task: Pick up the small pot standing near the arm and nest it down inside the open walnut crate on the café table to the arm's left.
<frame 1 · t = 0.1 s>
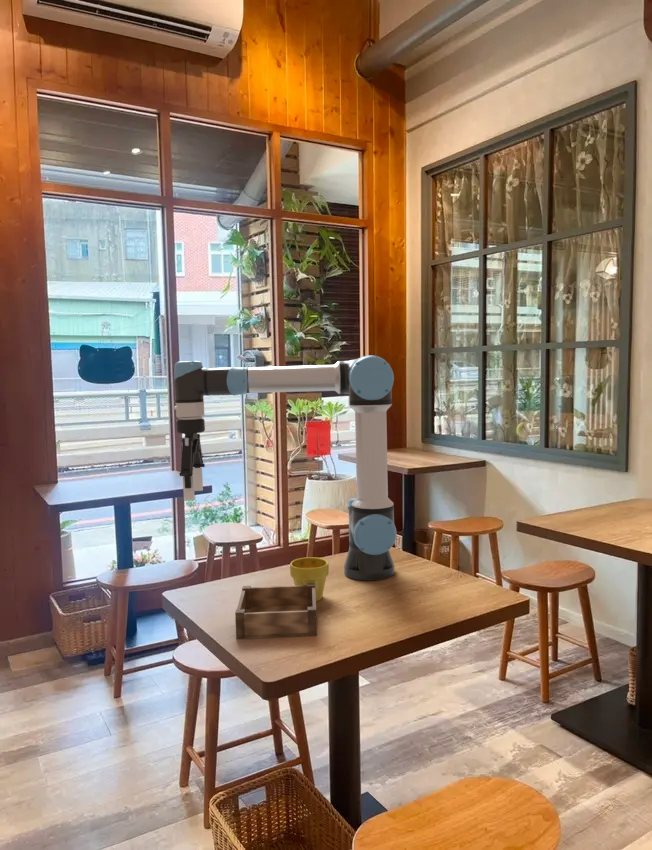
hand: (193, 495, 177), 28 cm above the table, fingers open, 13 cm apart
walnut crate: (278, 621, 158), on the table
plant pot: (310, 598, 174), on the table
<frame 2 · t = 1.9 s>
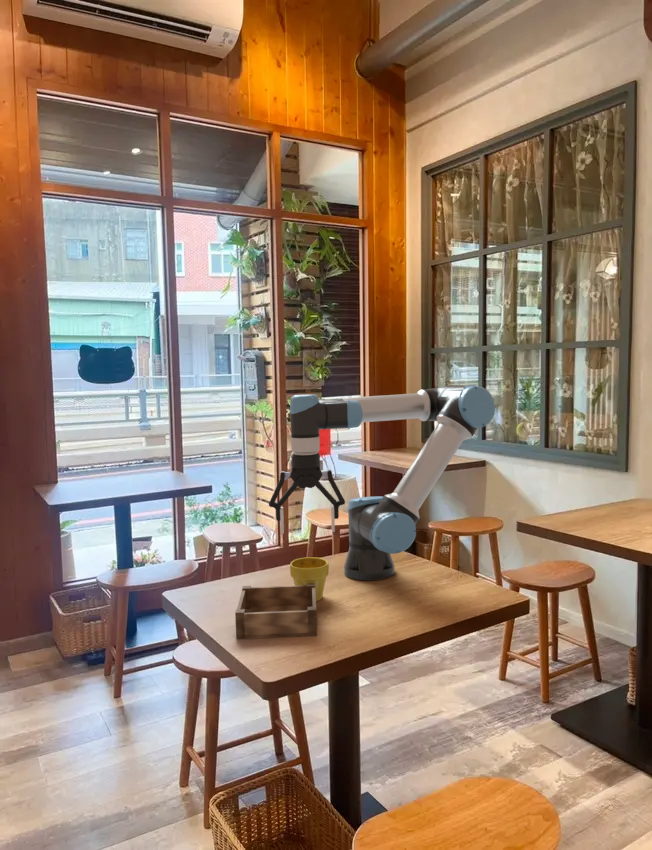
hand: (307, 531, 173), 18 cm above the table, fingers open, 13 cm apart
nothing on the table moved.
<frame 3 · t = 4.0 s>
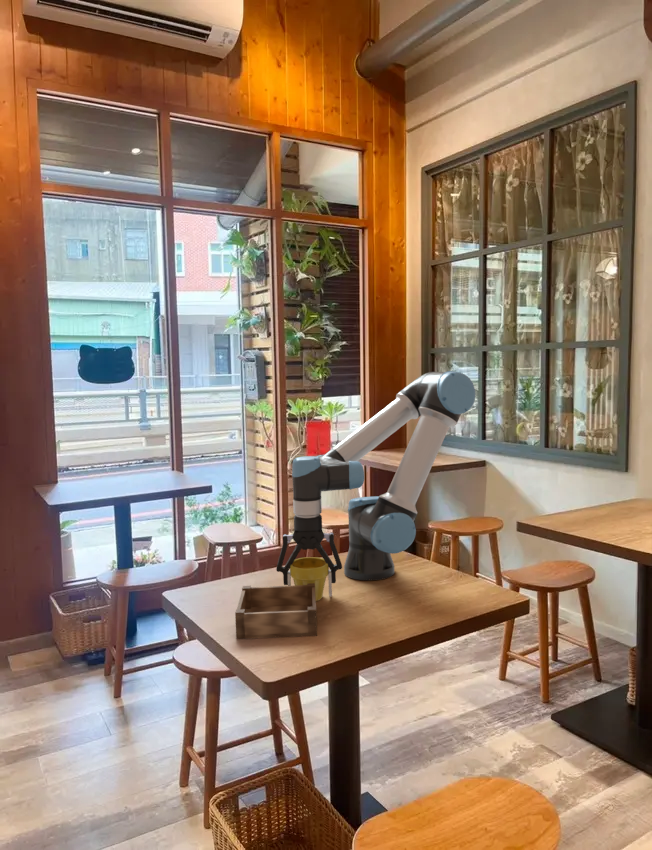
hand: (310, 595, 174), 1 cm above the table, fingers closed on plant pot, 10 cm apart
plant pot: (310, 598, 174), on the table, touching gripper
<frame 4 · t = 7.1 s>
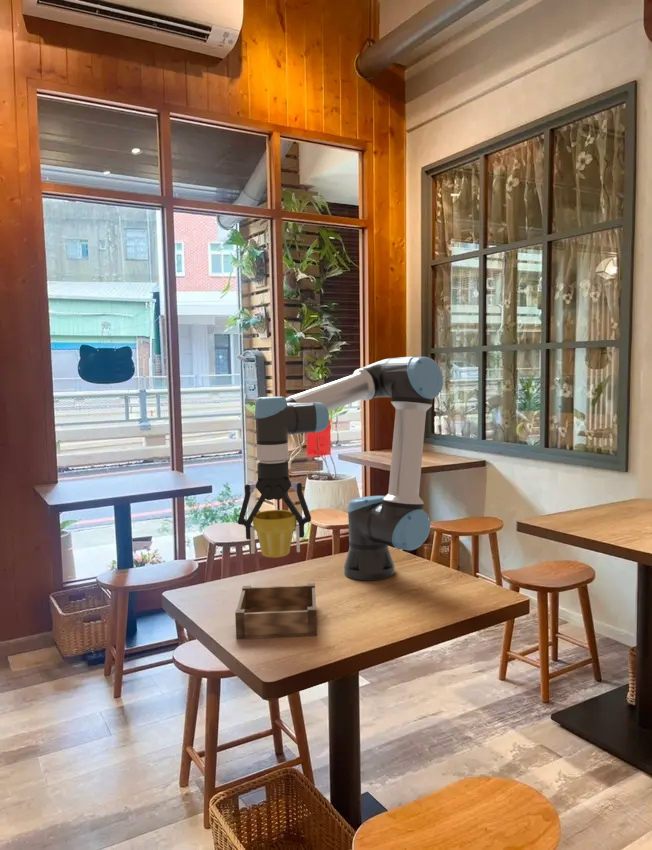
hand: (275, 551, 157), 18 cm above the table, fingers closed on plant pot, 10 cm apart
plant pot: (275, 554, 157), point 17 cm above the table, touching gripper
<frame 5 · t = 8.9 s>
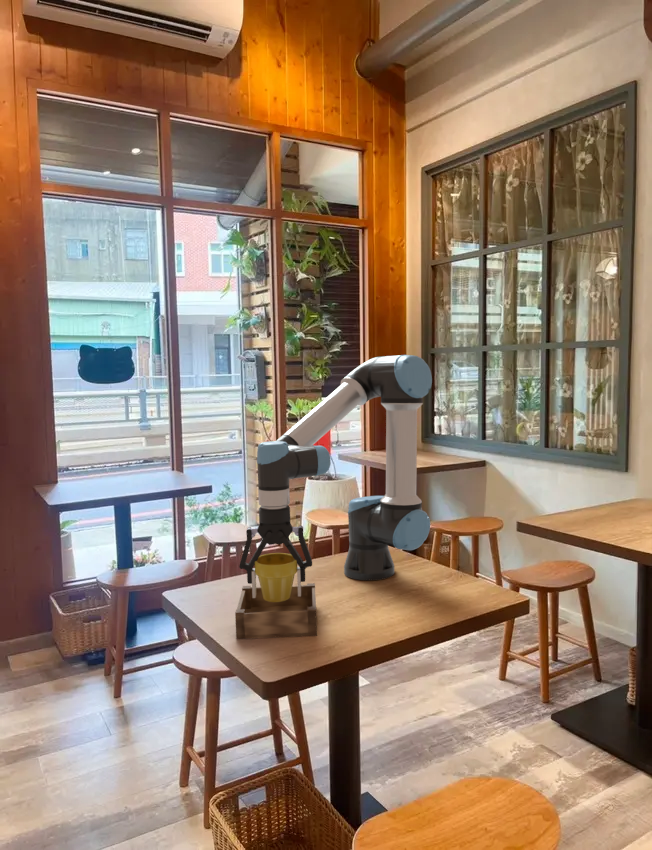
hand: (277, 595, 157), 7 cm above the table, fingers closed on plant pot, 10 cm apart
plant pot: (277, 598, 157), point 6 cm above the table, touching gripper
when the fingers open (3 cm above the table, at t = 10.2 s): plant pot drops 2 cm, resting on walnut crate.
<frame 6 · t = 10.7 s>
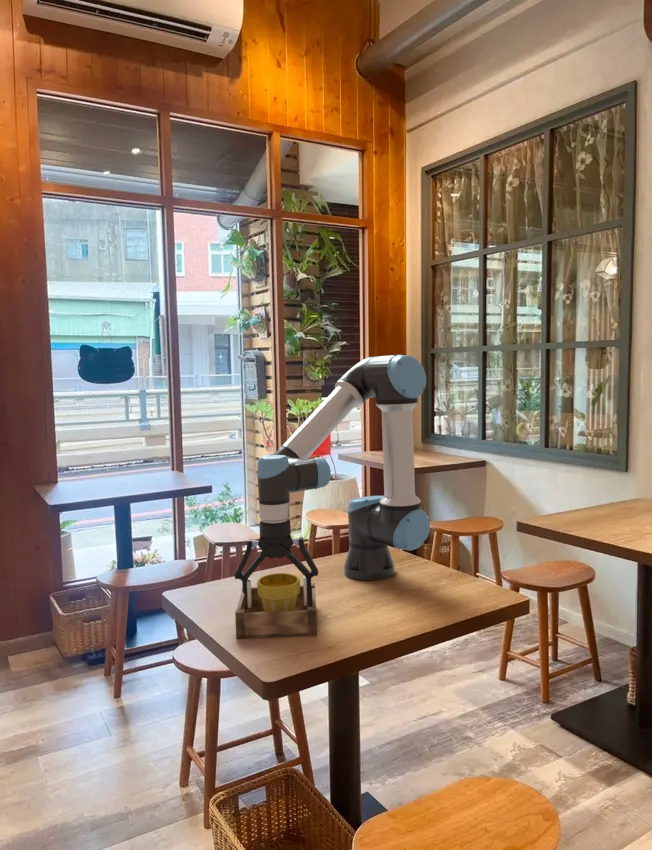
hand: (277, 605, 158), 4 cm above the table, fingers open, 13 cm apart
plant pot: (279, 619, 158), point 1 cm above the table, touching walnut crate
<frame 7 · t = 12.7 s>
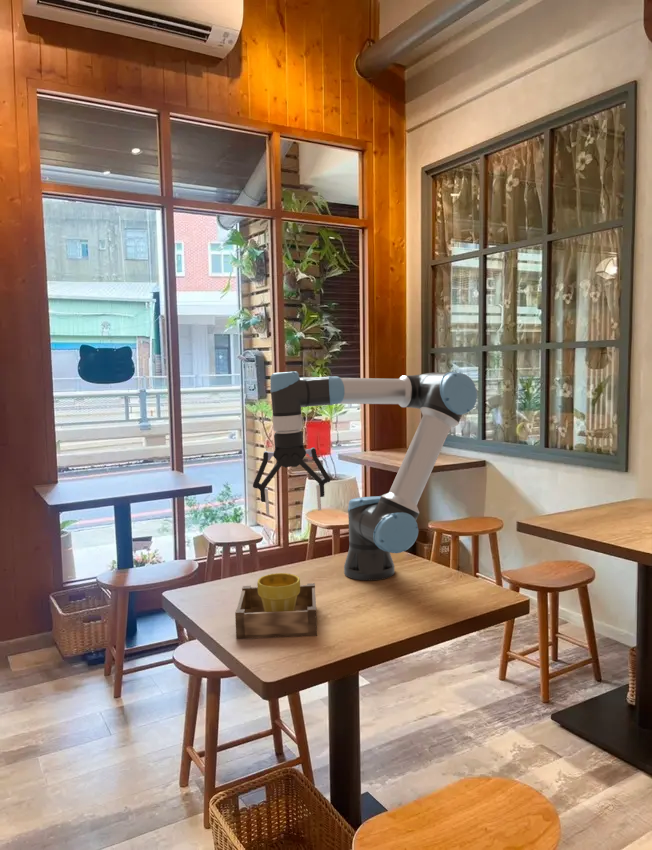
hand: (293, 511, 170), 24 cm above the table, fingers open, 13 cm apart
nothing on the table moved.
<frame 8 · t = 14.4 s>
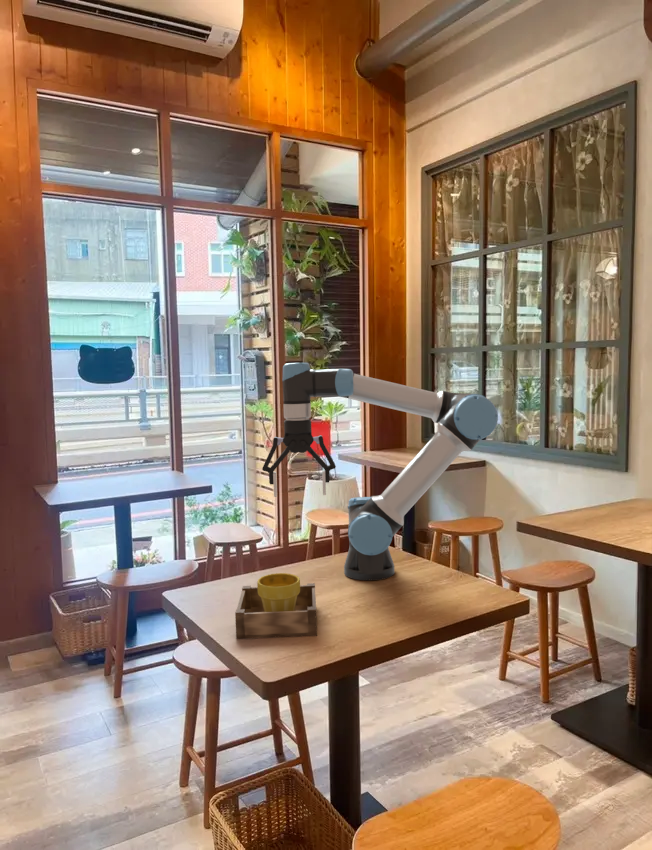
hand: (299, 495, 179), 27 cm above the table, fingers open, 13 cm apart
nothing on the table moved.
at the end: plant pot inside the target area on the walnut crate (0.4 cm from its centre), point 0.6 cm above the walnut crate's base; plant pot tilted 0°; the gripper is holding nothing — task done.
